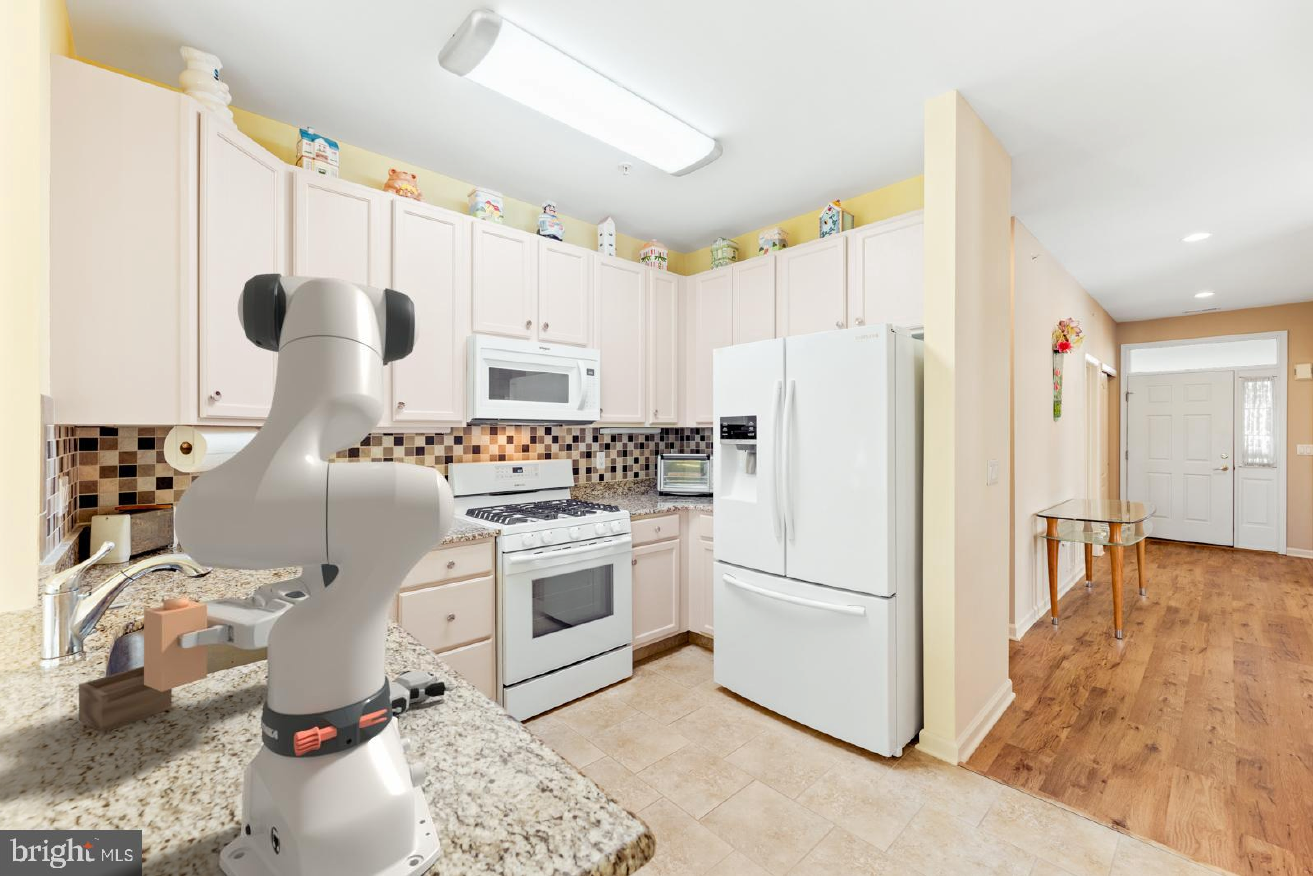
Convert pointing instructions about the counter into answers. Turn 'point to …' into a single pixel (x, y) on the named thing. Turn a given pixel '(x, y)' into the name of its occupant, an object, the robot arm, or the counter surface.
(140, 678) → the brown wooden box
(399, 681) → the robot toy
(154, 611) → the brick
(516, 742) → the counter surface
